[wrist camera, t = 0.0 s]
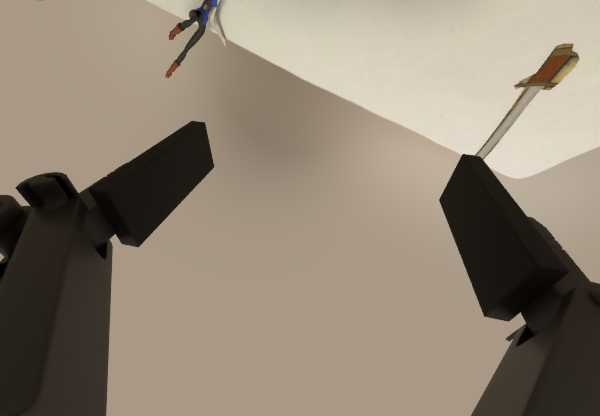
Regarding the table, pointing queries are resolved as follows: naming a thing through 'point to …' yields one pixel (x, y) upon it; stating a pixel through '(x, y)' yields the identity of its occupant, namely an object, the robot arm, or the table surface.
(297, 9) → the table surface
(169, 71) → the figurine
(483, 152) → the sword
